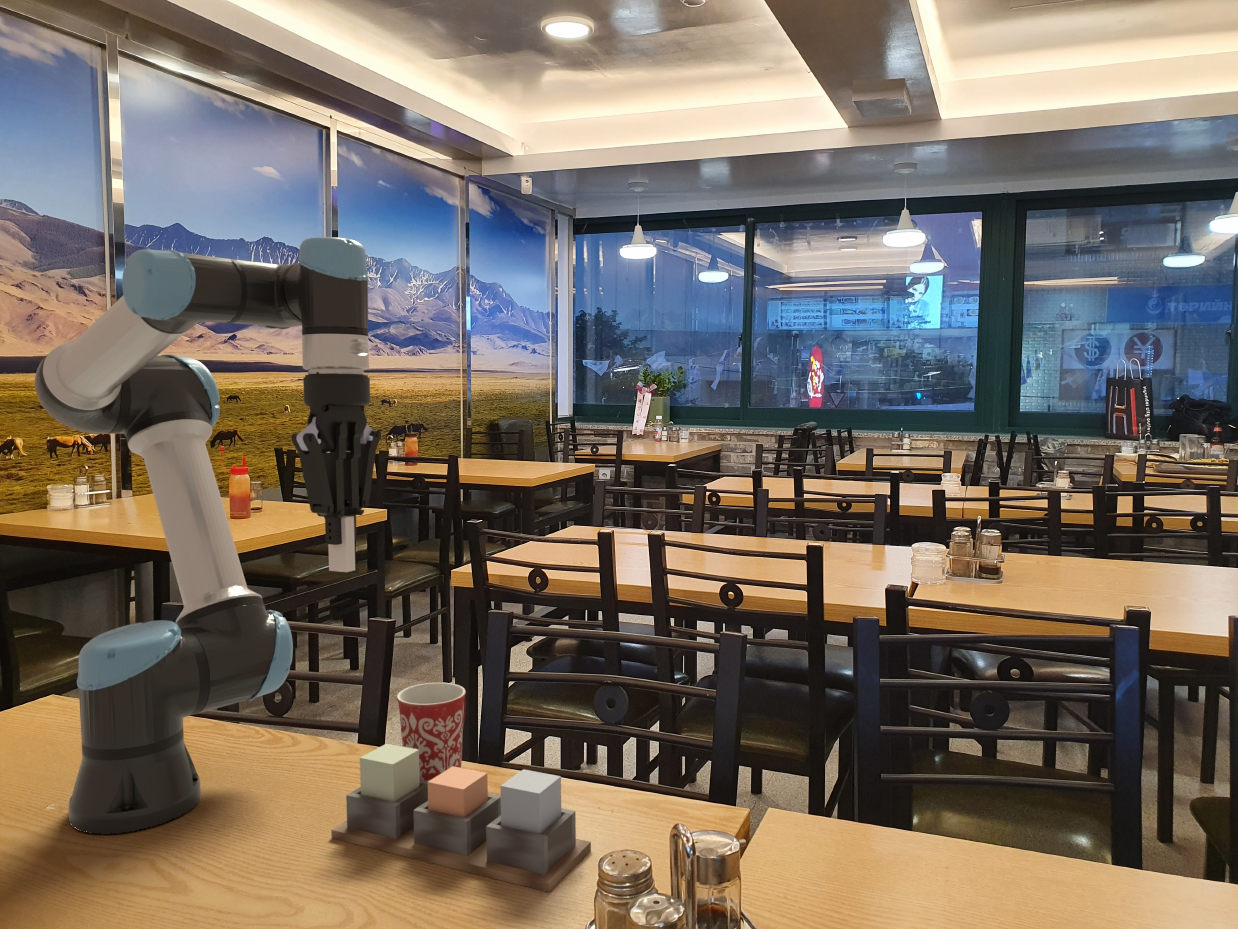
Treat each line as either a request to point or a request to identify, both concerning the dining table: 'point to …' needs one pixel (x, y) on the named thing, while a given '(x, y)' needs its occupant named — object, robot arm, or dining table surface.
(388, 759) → the sage button
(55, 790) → the dining table surface
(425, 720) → the mug
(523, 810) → the slate button
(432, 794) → the terracotta button
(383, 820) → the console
